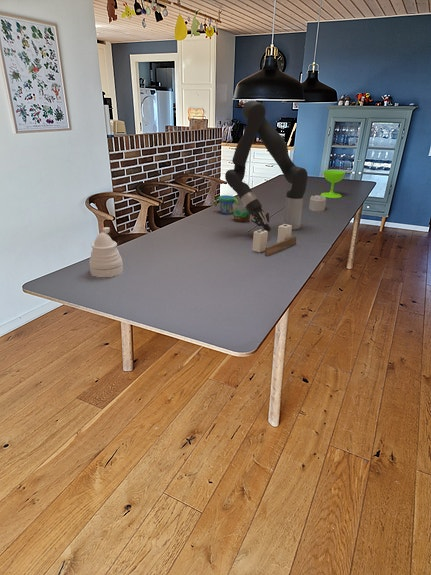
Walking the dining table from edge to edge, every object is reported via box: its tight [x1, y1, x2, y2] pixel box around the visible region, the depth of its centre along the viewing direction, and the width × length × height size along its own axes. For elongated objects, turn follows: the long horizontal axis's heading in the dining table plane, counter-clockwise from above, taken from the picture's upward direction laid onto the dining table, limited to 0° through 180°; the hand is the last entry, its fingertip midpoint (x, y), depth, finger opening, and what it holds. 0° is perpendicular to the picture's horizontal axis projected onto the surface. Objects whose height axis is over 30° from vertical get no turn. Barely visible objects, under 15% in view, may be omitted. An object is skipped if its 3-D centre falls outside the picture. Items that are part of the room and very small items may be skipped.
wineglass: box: [320, 169, 346, 199], centre depth 298 cm, size 16×16×18 cm
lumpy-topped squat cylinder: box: [308, 194, 327, 212], centre depth 259 cm, size 10×13×9 cm
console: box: [264, 235, 297, 257], centre depth 186 cm, size 15×24×5 cm, turn 138°
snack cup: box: [214, 194, 239, 215], centre depth 246 cm, size 16×10×10 cm
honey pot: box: [88, 226, 124, 277], centre depth 155 cm, size 13×13×18 cm
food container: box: [232, 202, 251, 223], centre depth 229 cm, size 12×6×10 cm, turn 62°
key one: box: [276, 223, 293, 243], centre depth 189 cm, size 4×6×9 cm
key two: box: [252, 228, 269, 253], centre depth 180 cm, size 4×6×9 cm
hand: (269, 231), depth 194 cm, fingers closed
